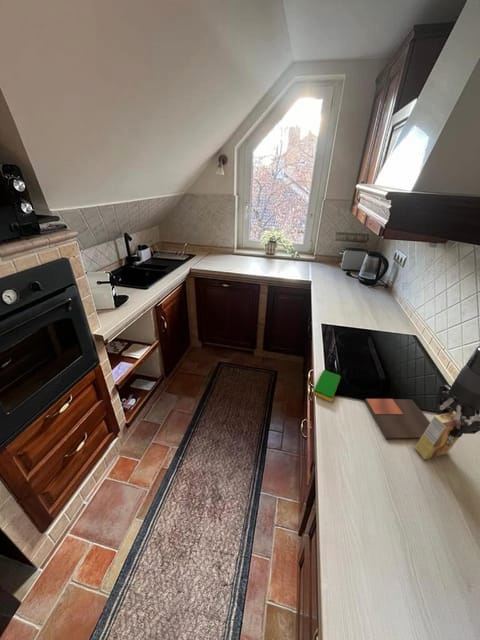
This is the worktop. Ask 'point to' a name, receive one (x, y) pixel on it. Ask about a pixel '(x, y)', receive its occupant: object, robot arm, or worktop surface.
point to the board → (398, 418)
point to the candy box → (438, 436)
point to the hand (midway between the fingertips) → (446, 427)
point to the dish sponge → (327, 385)
